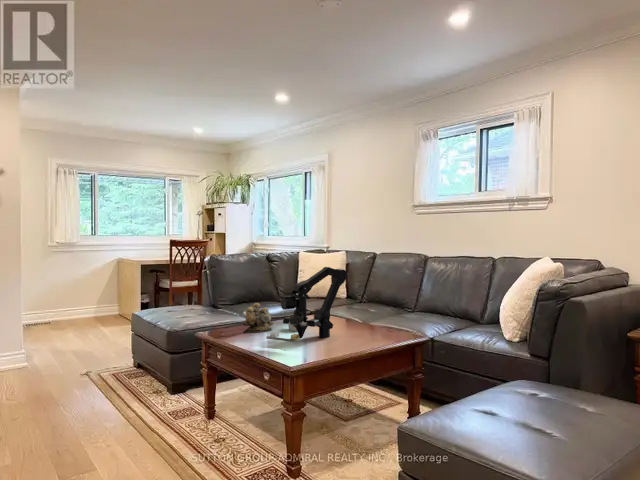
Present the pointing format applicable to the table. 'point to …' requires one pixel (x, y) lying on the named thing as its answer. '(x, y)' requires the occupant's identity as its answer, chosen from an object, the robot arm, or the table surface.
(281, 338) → the plate
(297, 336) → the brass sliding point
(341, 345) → the table surface
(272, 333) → the block
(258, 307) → the owl figurine
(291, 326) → the grey rounded container
